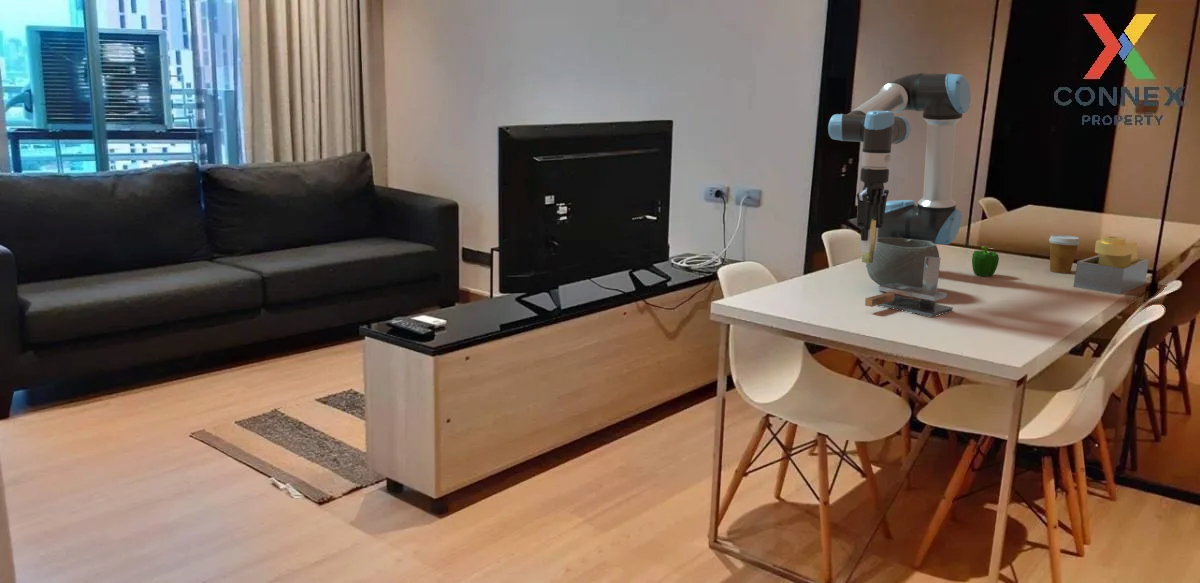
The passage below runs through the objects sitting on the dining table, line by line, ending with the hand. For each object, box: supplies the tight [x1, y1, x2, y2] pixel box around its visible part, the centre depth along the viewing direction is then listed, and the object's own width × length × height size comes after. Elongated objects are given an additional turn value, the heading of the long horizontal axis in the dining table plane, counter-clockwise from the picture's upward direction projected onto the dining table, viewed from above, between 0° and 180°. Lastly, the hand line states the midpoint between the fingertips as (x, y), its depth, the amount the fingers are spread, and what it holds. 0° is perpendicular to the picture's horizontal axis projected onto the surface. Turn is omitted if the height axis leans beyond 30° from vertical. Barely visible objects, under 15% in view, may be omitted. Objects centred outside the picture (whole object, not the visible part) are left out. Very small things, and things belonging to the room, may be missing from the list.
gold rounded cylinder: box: [861, 219, 876, 264], centre depth 262 cm, size 3×3×12 cm
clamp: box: [1094, 235, 1139, 268], centre depth 296 cm, size 20×9×16 cm, turn 134°
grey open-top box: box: [1073, 254, 1150, 295], centre depth 297 cm, size 14×24×8 cm, turn 134°
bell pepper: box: [971, 245, 1000, 277], centre depth 307 cm, size 8×8×10 cm
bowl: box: [865, 237, 940, 288], centre depth 280 cm, size 21×21×15 cm
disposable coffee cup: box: [1048, 234, 1081, 274], centre depth 316 cm, size 10×10×12 cm
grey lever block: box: [864, 256, 954, 318], centre depth 255 cm, size 18×22×15 cm
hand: (868, 250), depth 263 cm, fingers closed on gold rounded cylinder, 3 cm apart
